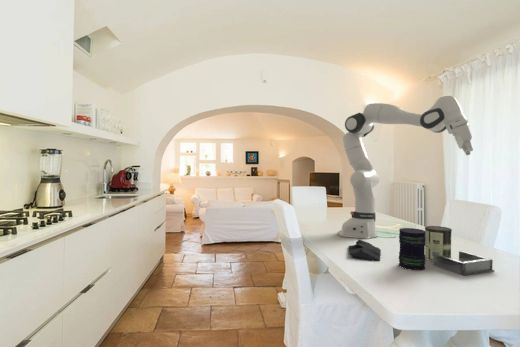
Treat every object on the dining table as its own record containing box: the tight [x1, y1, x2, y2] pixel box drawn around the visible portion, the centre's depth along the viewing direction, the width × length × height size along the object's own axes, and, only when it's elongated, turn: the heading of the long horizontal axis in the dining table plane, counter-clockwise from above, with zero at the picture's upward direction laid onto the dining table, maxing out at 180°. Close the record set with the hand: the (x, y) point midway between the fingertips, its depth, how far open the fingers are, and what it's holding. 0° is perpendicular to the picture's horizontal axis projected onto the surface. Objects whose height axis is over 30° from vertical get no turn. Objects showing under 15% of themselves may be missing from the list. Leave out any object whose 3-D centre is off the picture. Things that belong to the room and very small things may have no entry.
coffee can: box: [424, 225, 453, 263], centre depth 136 cm, size 10×10×14 cm
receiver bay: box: [432, 250, 495, 277], centre depth 125 cm, size 14×16×4 cm
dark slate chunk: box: [348, 239, 382, 262], centre depth 145 cm, size 15×22×5 cm
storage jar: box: [398, 227, 426, 271], centre depth 126 cm, size 10×10×15 cm
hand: (469, 153), depth 144 cm, fingers open, 8 cm apart
